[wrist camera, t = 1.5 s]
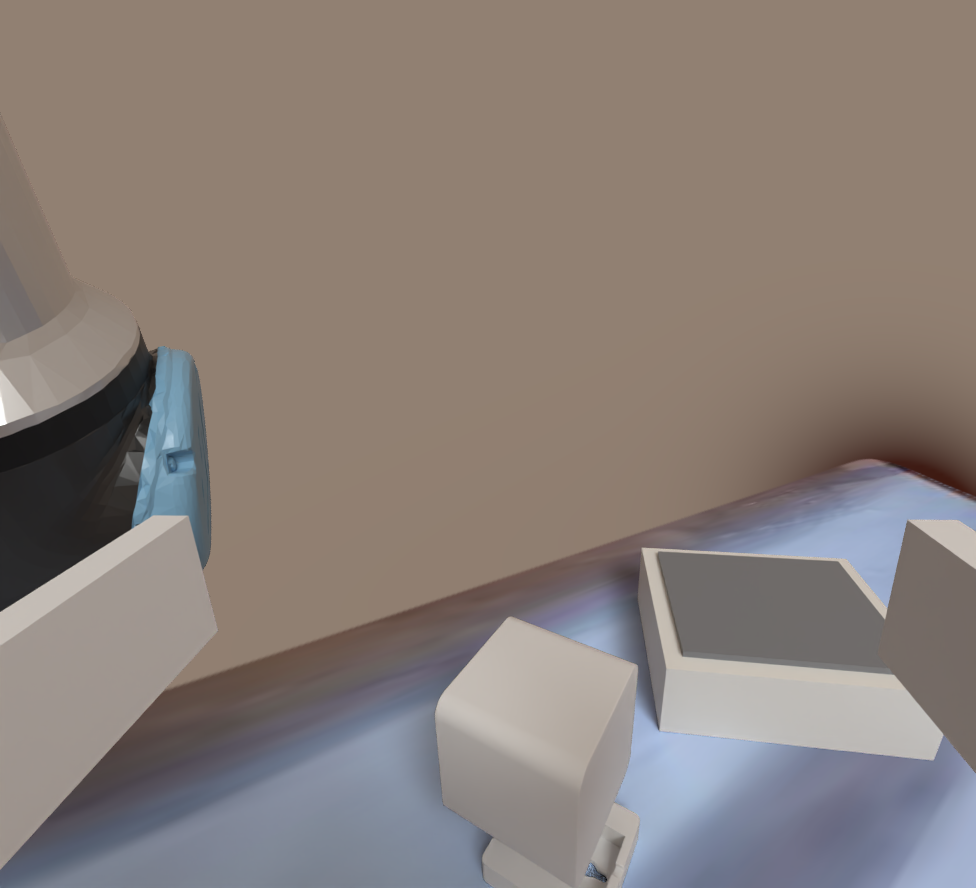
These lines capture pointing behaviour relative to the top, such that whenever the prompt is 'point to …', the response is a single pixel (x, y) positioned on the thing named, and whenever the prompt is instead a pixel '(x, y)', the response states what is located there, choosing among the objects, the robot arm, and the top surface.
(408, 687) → the top surface
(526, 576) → the top surface
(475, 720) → the security camera
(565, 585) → the top surface
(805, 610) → the cream gray-topped block
